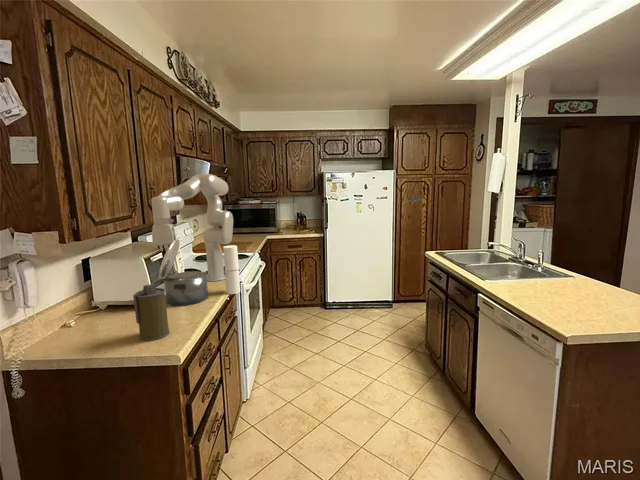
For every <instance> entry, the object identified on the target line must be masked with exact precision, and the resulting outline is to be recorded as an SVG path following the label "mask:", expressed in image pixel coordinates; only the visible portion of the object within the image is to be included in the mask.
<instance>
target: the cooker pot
mask: <svg viewBox="0 0 640 480" xmlns="http://www.w3.org/2000/svg"><path fill="white" fill-rule="evenodd" d="M207 276H208V274H207V273H206V272H204V271H199V270H196V271H183V272H177V273H173V274H168V275H167V276H166V277H165V278H164V279H163V281H164V282H163V283H164V289H165V300H166V305H169V306H172V307H185V306H192V305H197V304H199V303H202V302H205V301H206V300H208V299H209V289H208V281H207Z"/></svg>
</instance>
